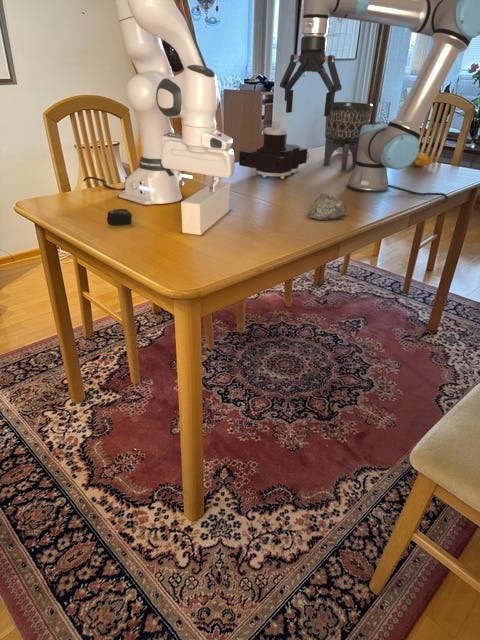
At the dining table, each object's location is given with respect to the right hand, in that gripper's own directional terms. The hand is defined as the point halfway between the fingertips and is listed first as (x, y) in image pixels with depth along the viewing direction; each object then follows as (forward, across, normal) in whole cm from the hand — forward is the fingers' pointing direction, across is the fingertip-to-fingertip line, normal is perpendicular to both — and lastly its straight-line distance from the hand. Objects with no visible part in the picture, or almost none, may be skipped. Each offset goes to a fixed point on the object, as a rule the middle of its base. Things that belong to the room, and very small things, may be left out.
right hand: (307, 114), depth 145 cm
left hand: (+17, -10, -44) cm, 48 cm away
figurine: (+28, -24, +96) cm, 103 cm away
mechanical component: (+28, -27, +34) cm, 52 cm away
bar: (+28, -12, -37) cm, 48 cm away
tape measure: (+28, -30, -56) cm, 69 cm away
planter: (+28, -12, +64) cm, 70 cm away
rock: (+28, +16, -10) cm, 34 cm away
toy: (+28, +16, +91) cm, 97 cm away
